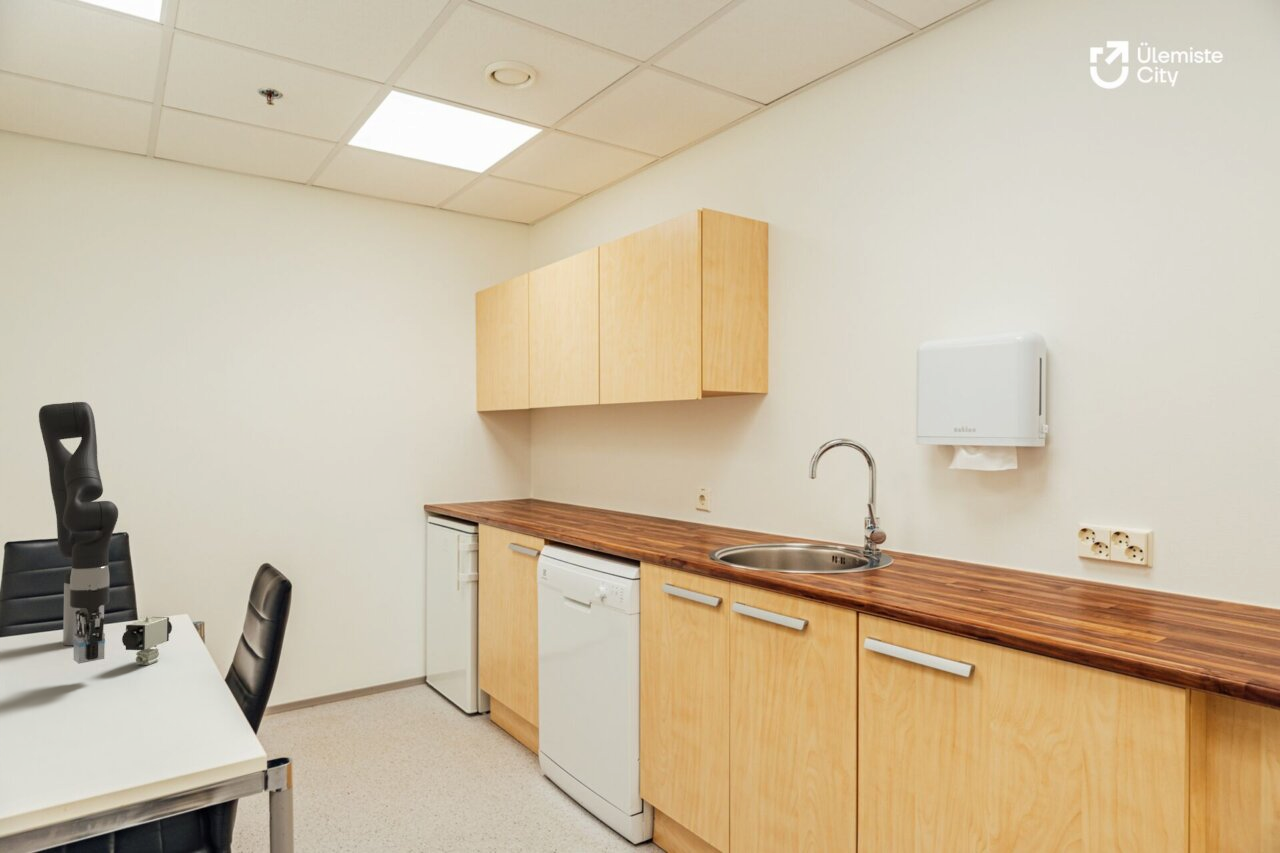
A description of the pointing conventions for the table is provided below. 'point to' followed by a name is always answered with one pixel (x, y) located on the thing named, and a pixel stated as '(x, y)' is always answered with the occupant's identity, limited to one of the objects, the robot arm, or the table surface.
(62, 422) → the robot arm
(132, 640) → the pneumatic valve
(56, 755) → the table surface
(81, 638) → the grey box with knob
